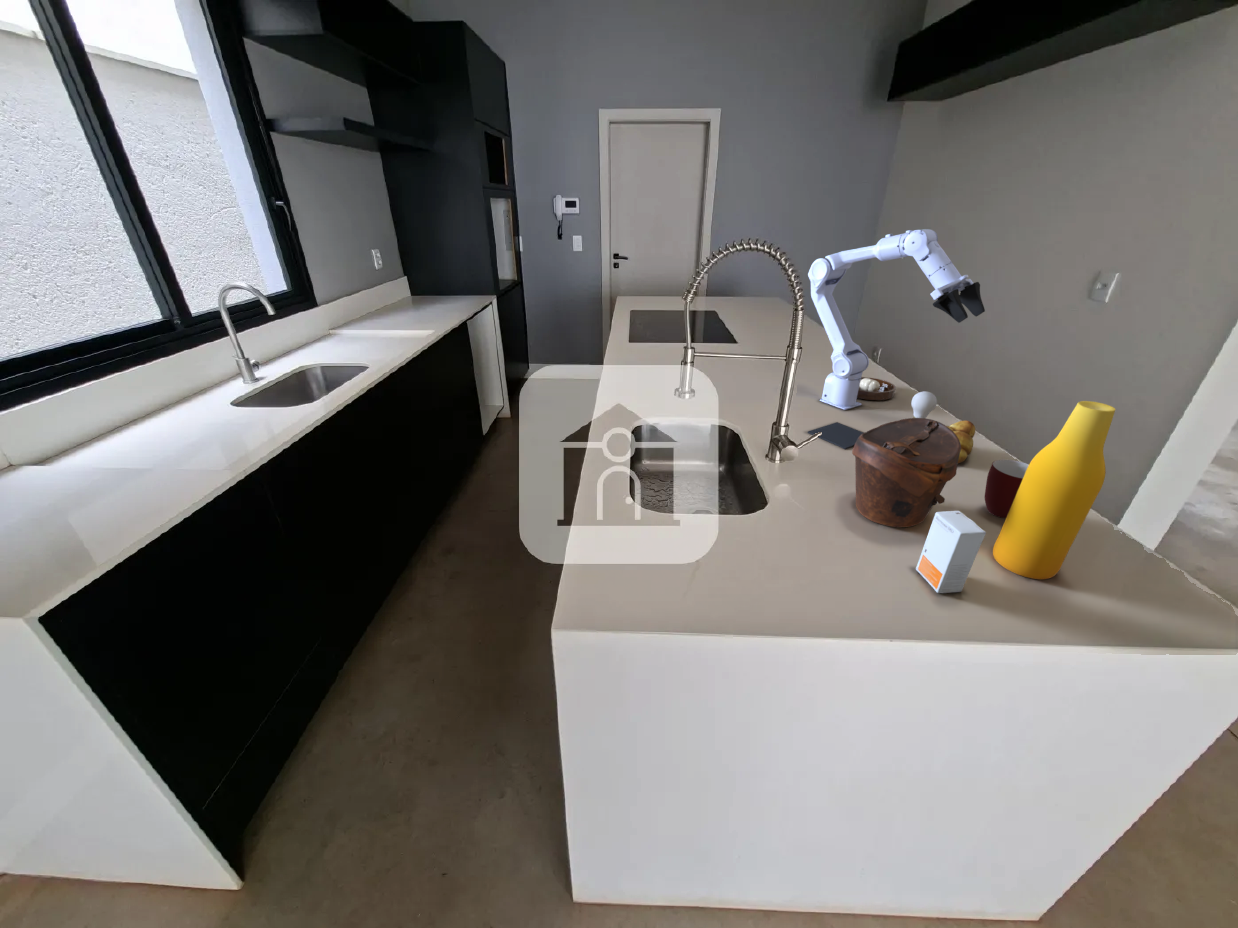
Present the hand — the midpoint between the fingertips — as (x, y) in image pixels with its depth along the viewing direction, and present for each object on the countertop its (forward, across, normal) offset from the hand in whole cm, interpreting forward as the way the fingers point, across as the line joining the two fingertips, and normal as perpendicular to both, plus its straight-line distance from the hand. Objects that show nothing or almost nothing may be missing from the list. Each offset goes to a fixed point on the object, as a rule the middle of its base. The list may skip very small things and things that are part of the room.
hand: (972, 317), depth 119 cm
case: (+30, -48, +9) cm, 57 cm away
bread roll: (+27, -13, +16) cm, 34 cm away
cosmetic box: (+42, -60, -3) cm, 73 cm away
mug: (+41, -30, +1) cm, 50 cm away
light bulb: (+18, -2, +26) cm, 31 cm away
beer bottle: (+46, -44, -6) cm, 64 cm away
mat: (+11, -24, +30) cm, 40 cm away
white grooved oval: (0, +11, +42) cm, 44 cm away
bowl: (+1, +11, +43) cm, 44 cm away
